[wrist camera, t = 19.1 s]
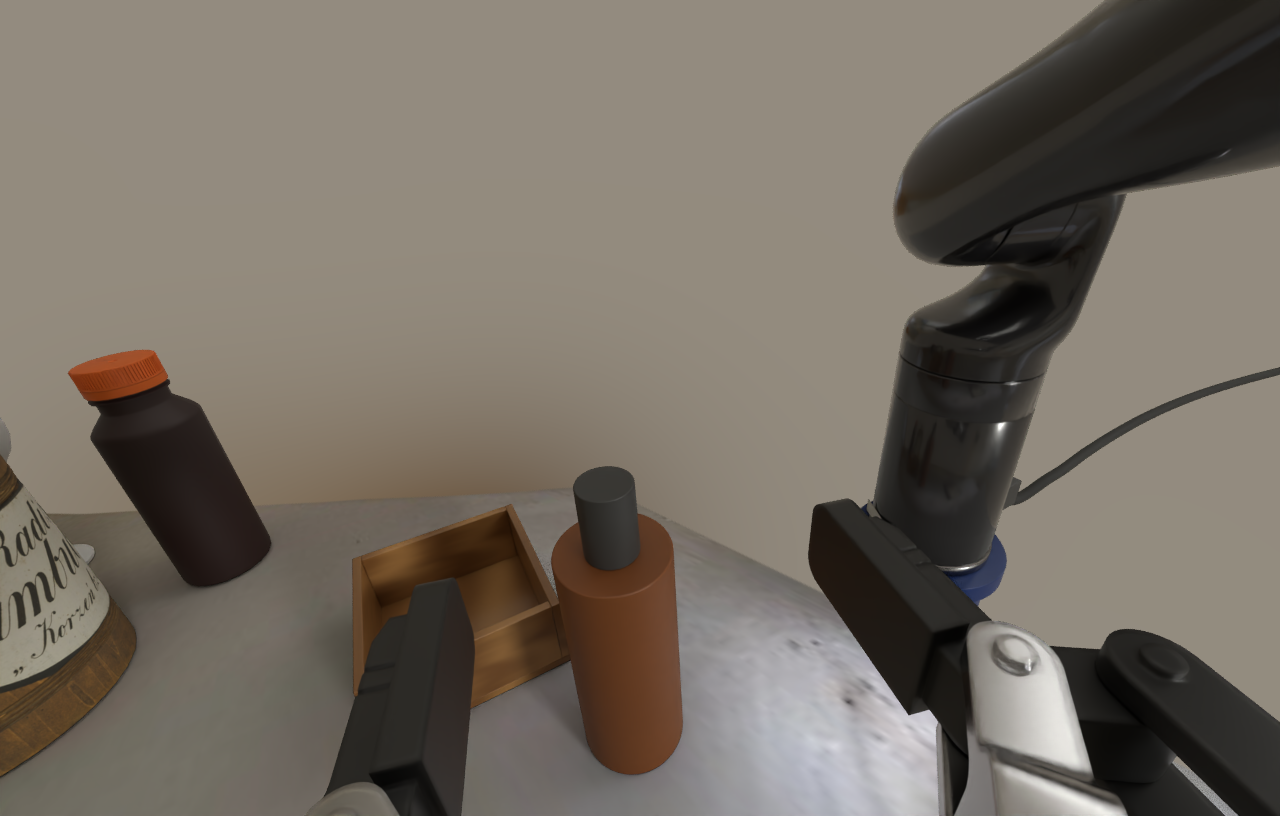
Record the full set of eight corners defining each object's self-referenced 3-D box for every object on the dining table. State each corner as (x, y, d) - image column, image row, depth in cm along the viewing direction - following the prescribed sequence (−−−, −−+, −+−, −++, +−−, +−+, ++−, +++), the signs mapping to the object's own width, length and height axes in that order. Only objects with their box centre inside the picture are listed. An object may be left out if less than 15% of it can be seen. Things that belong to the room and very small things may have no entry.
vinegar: (167, 596, 44) (21, 386, 35) (209, 543, 50) (93, 352, 40) (254, 579, 45) (134, 370, 36) (284, 529, 51) (188, 340, 42)
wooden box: (523, 553, 45) (511, 503, 43) (571, 659, 35) (560, 602, 33) (375, 611, 41) (351, 558, 38) (383, 751, 31) (352, 693, 28)
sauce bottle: (653, 661, 35) (632, 436, 27) (701, 740, 30) (695, 495, 22) (571, 704, 33) (521, 472, 24) (610, 797, 28) (564, 547, 20)
